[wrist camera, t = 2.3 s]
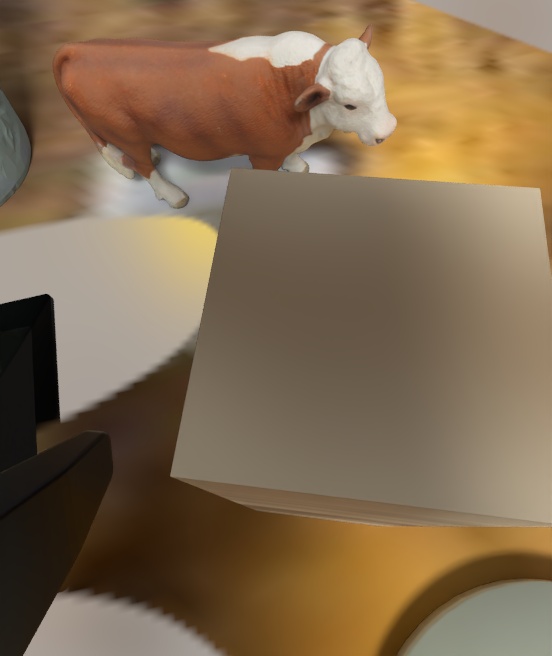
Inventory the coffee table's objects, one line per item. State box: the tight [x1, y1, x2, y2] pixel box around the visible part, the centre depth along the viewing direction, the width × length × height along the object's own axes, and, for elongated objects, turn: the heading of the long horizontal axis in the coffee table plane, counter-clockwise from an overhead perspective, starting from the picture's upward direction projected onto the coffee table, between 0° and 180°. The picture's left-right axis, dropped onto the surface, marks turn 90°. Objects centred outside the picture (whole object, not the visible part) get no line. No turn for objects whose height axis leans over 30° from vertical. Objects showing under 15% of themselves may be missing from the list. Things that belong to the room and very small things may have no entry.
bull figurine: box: [53, 24, 397, 208], centre depth 19 cm, size 4×13×8 cm, turn 78°
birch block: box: [170, 168, 552, 527], centre depth 12 cm, size 4×4×13 cm
